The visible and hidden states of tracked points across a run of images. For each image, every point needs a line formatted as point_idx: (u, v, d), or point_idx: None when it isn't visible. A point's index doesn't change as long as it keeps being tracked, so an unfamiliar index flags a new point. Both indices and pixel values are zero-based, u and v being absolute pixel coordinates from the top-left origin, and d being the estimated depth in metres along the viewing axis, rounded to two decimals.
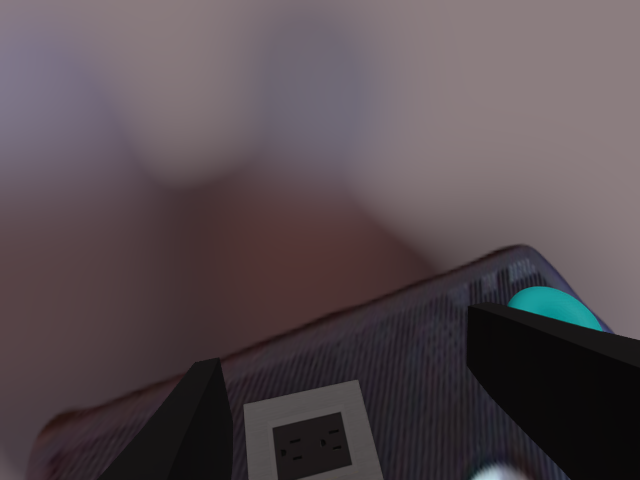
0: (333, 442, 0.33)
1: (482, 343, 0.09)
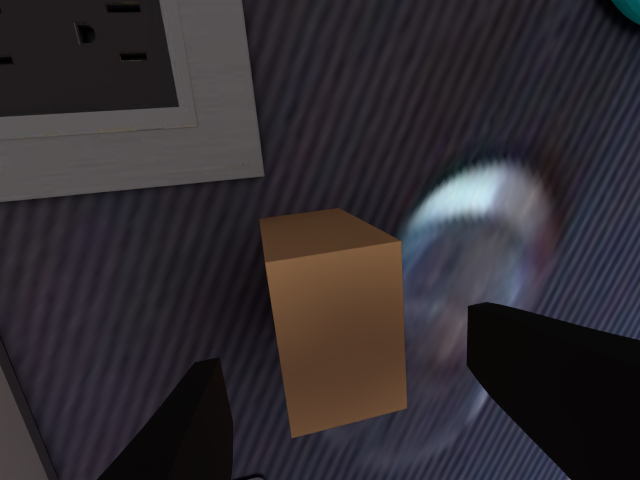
0: (120, 37, 0.11)
1: (482, 343, 0.09)
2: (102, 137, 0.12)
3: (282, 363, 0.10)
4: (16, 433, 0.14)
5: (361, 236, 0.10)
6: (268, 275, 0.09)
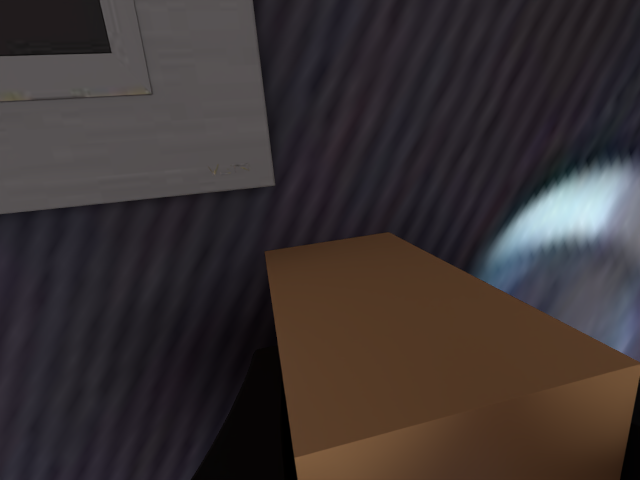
0: None
1: None
2: None
3: None
4: None
5: (502, 327, 0.05)
6: None
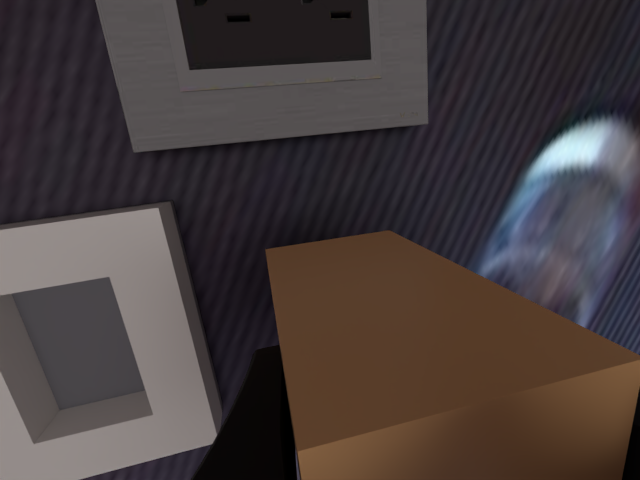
0: None
1: None
2: (306, 87, 0.14)
3: None
4: (205, 356, 0.16)
5: (504, 323, 0.05)
6: None
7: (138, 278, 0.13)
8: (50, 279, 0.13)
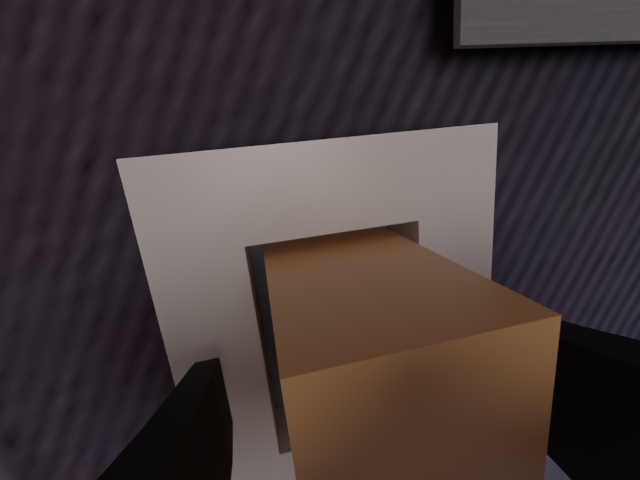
0: None
1: None
2: None
3: None
4: None
5: (458, 293, 0.05)
6: (287, 405, 0.04)
7: (451, 225, 0.09)
8: (349, 220, 0.09)
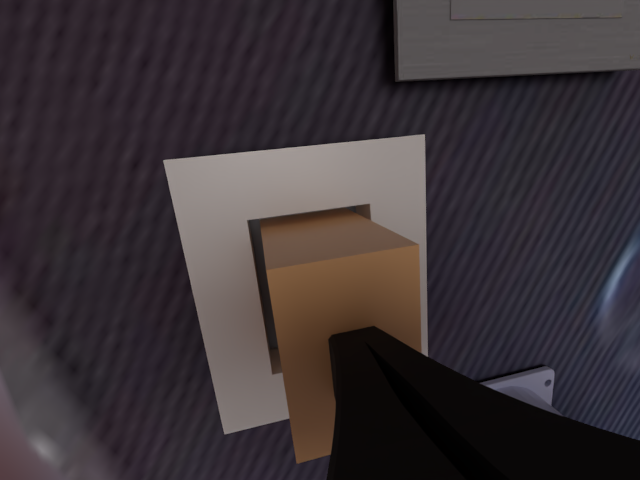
0: None
1: None
2: (556, 22, 0.14)
3: (286, 382, 0.08)
4: None
5: (373, 239, 0.09)
6: (269, 284, 0.08)
7: (394, 207, 0.13)
8: (320, 202, 0.13)
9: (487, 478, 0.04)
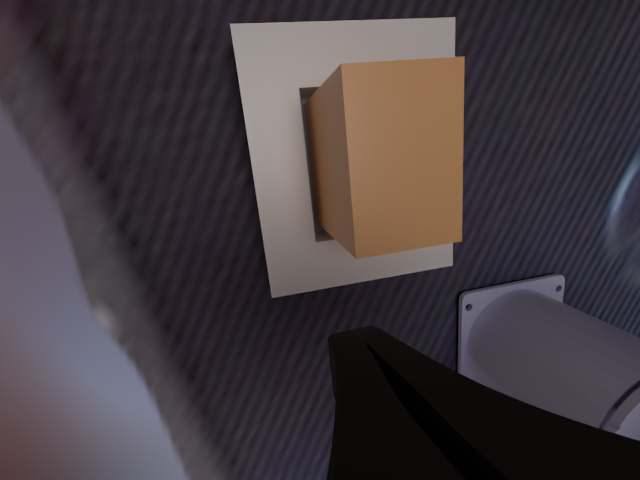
0: None
1: None
2: None
3: (351, 176, 0.10)
4: None
5: None
6: (343, 77, 0.09)
7: None
8: None
9: (487, 478, 0.04)
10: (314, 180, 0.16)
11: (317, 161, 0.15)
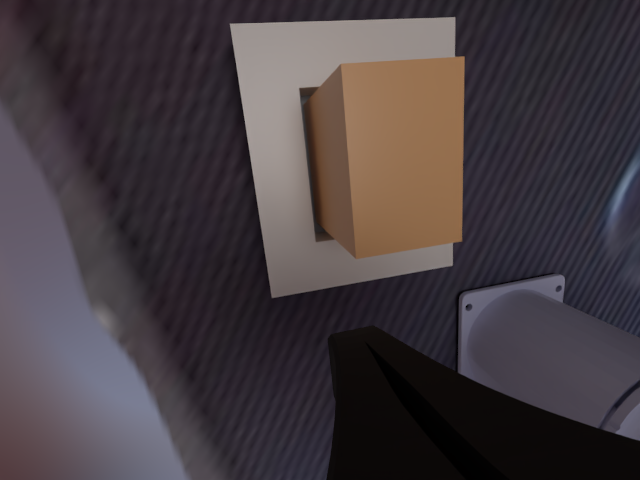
0: None
1: None
2: None
3: (351, 176, 0.10)
4: None
5: None
6: (343, 77, 0.09)
7: None
8: None
9: (487, 478, 0.04)
10: (314, 180, 0.16)
11: (317, 161, 0.15)
